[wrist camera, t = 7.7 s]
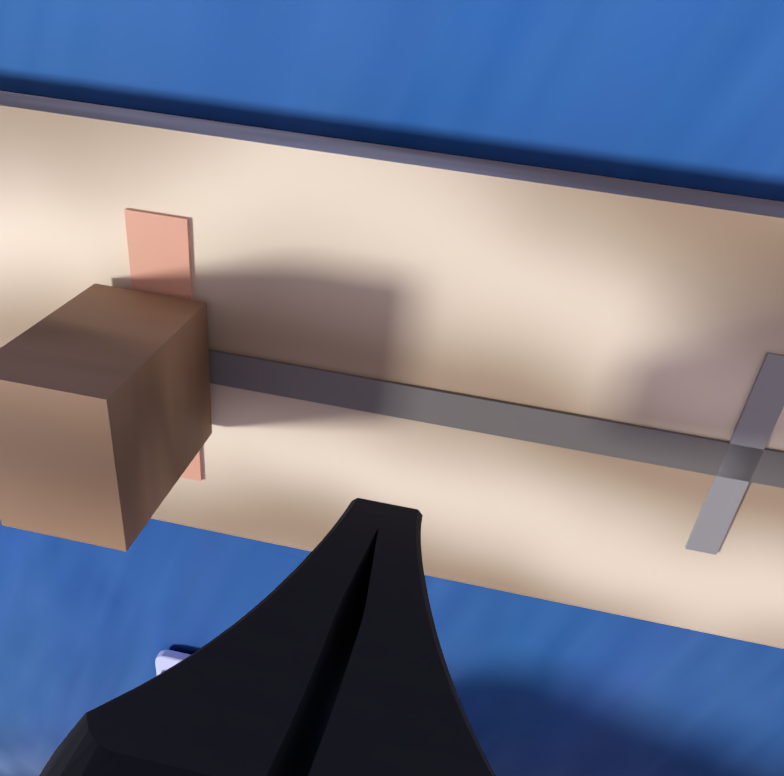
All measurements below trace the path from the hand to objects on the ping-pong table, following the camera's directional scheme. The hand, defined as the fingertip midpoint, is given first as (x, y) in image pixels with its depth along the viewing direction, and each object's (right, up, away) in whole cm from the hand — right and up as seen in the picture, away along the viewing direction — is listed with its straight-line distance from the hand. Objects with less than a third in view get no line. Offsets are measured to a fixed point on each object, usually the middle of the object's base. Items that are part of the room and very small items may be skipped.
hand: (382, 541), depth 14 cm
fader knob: (-6, +4, +5) cm, 9 cm away
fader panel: (+1, +3, +6) cm, 7 cm away
